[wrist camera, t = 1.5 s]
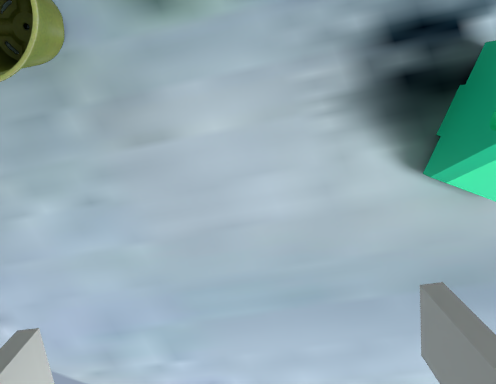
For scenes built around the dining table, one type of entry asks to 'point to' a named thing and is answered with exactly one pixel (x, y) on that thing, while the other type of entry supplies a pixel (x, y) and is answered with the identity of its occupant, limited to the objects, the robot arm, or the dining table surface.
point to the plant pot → (29, 34)
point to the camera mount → (470, 132)
